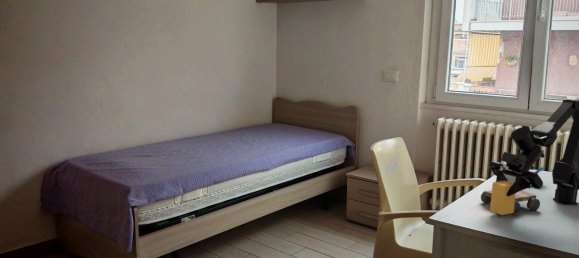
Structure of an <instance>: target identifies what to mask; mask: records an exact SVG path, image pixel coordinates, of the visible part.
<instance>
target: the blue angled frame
mask: <svg viewBox="0 0 579 258" xmlns="http://www.w3.org/2000/svg"><path fill="white" fill-rule="evenodd" d="M544 169H545V167H544V166H542V167H540V168H538V169H537V170H536V171H533V172H534V173H537V174H539V173H540V172H541V171H543V170H544Z"/></svg>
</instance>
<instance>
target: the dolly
mask: <svg viewBox="0 0 579 258" xmlns="http://www.w3.org/2000/svg"><path fill="white" fill-rule="evenodd" d="M491 196H492V189H491V190H484V191H483V192H482V193H481V195H480V201H481V202H482V203H484V204H487V205H489V204H491ZM526 201H527V202H526ZM520 202H526V207H527V209H528V210H530V211H533V212H536V211H538V210H539V208H540V206H541V200H539V199H538V198H537V194H535V193H530V192H528V191H525V190H522V191H519V192H517V193H516V194H515V203H514V213H511V214H512V215H517V214H518V213H519V212H520V211H521V203H520Z"/></svg>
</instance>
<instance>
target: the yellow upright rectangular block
mask: <svg viewBox="0 0 579 258" xmlns="http://www.w3.org/2000/svg"><path fill="white" fill-rule="evenodd" d="M512 185H513V183H510V182H507V181H498V182H496V181H493V182H492V186H491V188H492V189H491V190H492V196H491V203H490V206H489V207H490V208H489V209H490V210H489V211H491V212H493V213H495V214H498V215H501V216H503V215H505V216H506V215H508V214H512V213H514V203H515V194H516V193H515V194H513V195H511V196H509V197H508V196H507V195H506V194H507V192H508V190H509V189H510V188H511V186H512Z"/></svg>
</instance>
